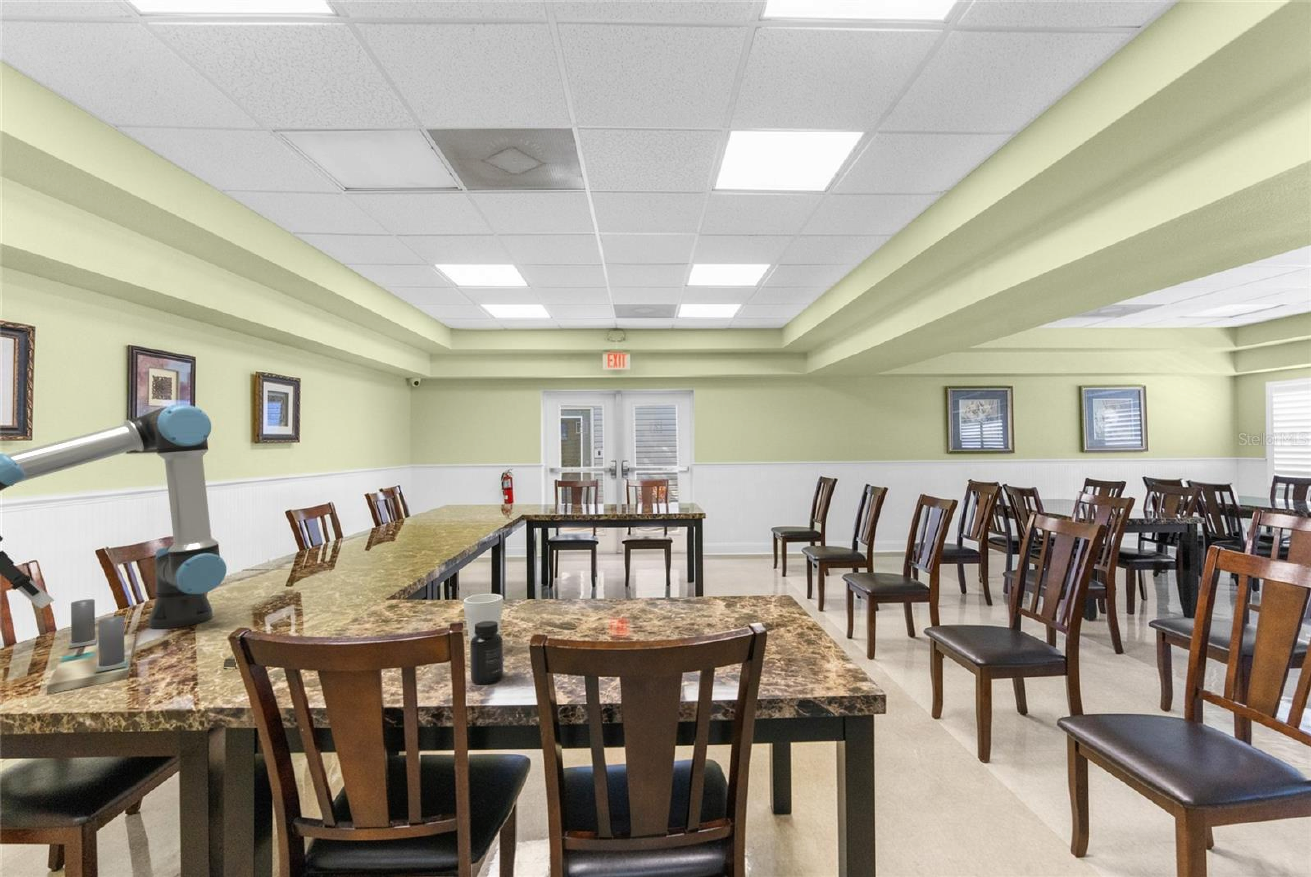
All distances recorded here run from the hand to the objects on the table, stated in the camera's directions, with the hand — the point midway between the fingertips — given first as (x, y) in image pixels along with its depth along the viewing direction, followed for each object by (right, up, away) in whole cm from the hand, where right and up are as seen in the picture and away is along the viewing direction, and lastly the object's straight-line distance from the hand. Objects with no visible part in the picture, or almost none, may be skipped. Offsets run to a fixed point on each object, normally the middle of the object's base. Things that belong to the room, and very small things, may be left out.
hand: (45, 603), depth 146 cm
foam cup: (+106, -13, +3) cm, 107 cm away
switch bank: (+13, -15, 0) cm, 19 cm away
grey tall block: (+24, -12, -9) cm, 29 cm away
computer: (+51, -15, +2) cm, 53 cm away
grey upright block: (+1, -13, +8) cm, 16 cm away
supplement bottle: (+112, -12, -15) cm, 113 cm away
